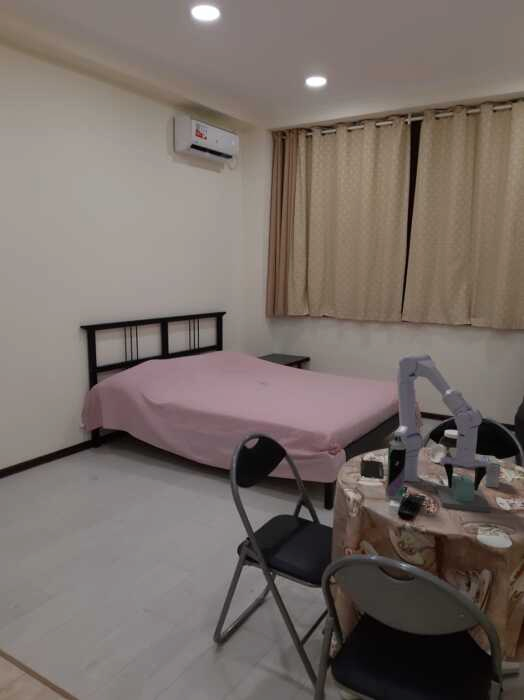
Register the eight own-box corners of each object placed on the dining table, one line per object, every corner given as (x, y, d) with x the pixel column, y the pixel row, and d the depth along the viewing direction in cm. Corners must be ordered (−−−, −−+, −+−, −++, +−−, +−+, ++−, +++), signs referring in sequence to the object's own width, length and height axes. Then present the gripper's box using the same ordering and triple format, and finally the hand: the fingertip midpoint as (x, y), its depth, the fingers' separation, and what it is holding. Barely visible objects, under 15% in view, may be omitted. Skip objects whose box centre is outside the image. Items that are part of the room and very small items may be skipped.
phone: (382, 461, 191) (382, 476, 176) (381, 464, 191) (382, 479, 177) (360, 459, 193) (359, 474, 178) (360, 462, 193) (359, 477, 178)
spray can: (393, 500, 159) (397, 439, 156) (381, 493, 164) (385, 434, 161) (406, 497, 162) (410, 437, 159) (394, 491, 167) (398, 432, 164)
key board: (441, 507, 155) (443, 491, 155) (435, 488, 169) (436, 474, 168) (490, 512, 153) (491, 496, 152) (480, 493, 166) (481, 478, 166)
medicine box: (498, 488, 171) (501, 463, 170) (484, 487, 172) (487, 462, 170) (493, 479, 178) (495, 455, 177) (479, 478, 179) (481, 454, 178)
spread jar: (468, 462, 195) (471, 433, 193) (457, 470, 186) (460, 439, 185) (438, 454, 203) (440, 426, 201) (426, 461, 194) (428, 432, 193)
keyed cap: (455, 499, 157) (456, 484, 157) (451, 489, 165) (452, 474, 164) (473, 501, 156) (474, 485, 156) (468, 491, 164) (469, 476, 163)
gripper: (443, 449, 156) (440, 490, 158) (494, 453, 153) (490, 495, 155) (440, 441, 163) (437, 482, 165) (488, 445, 160) (484, 486, 162)
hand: (462, 488), depth 160 cm, fingers open, 7 cm apart
